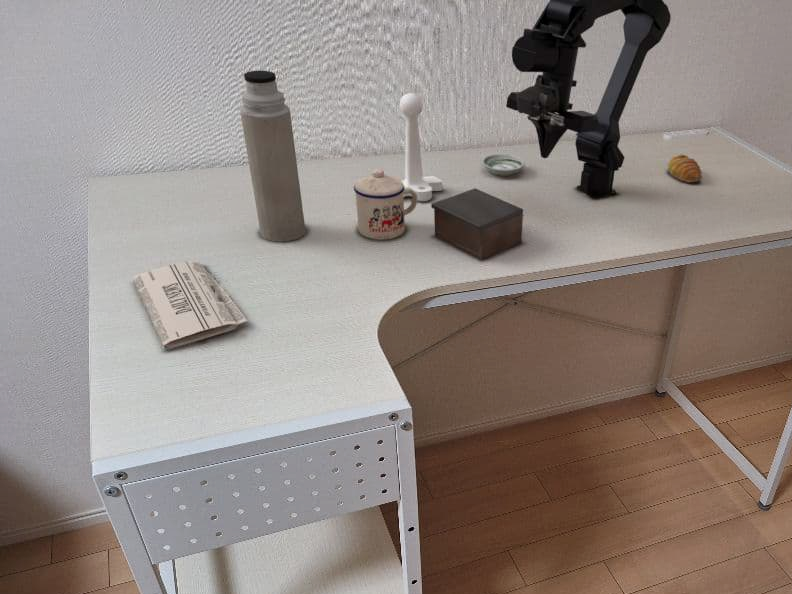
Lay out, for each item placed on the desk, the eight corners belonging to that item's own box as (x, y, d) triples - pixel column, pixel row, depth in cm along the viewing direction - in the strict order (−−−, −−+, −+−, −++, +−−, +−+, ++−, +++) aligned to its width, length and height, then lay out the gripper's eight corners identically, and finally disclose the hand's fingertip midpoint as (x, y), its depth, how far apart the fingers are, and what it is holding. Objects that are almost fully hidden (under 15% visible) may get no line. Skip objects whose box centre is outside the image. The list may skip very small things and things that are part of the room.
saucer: (472, 172, 171) (472, 161, 170) (497, 160, 178) (497, 150, 176) (508, 183, 167) (509, 173, 166) (532, 171, 174) (533, 160, 173)
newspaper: (251, 329, 116) (247, 316, 114) (168, 357, 111) (162, 343, 109) (211, 264, 130) (206, 251, 129) (135, 286, 125) (130, 273, 124)
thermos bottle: (277, 219, 146) (253, 63, 129) (313, 228, 144) (294, 71, 127) (251, 236, 140) (223, 75, 123) (289, 245, 138) (266, 83, 121)
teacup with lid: (369, 244, 140) (364, 183, 133) (349, 225, 146) (344, 165, 139) (428, 232, 146) (426, 173, 139) (407, 214, 152) (405, 156, 145)
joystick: (432, 184, 164) (430, 87, 152) (450, 196, 160) (449, 97, 148) (385, 193, 159) (379, 93, 147) (402, 207, 154) (398, 105, 142)
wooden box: (481, 260, 138) (482, 229, 135) (434, 236, 145) (434, 206, 141) (521, 243, 145) (523, 213, 141) (474, 221, 151) (475, 192, 148)
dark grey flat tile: (479, 230, 134) (479, 226, 134) (431, 207, 141) (431, 203, 140) (523, 213, 141) (523, 209, 141) (475, 192, 148) (475, 188, 147)
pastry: (707, 183, 175) (710, 167, 173) (681, 185, 173) (684, 169, 171) (689, 168, 182) (692, 152, 180) (663, 170, 180) (666, 154, 178)
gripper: (492, 60, 140) (481, 146, 148) (570, 85, 131) (554, 176, 139) (531, 60, 148) (519, 143, 156) (608, 84, 138) (591, 170, 147)
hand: (544, 157), depth 149 cm, fingers closed
